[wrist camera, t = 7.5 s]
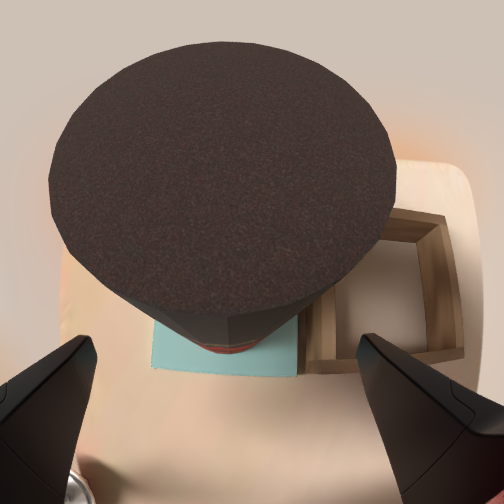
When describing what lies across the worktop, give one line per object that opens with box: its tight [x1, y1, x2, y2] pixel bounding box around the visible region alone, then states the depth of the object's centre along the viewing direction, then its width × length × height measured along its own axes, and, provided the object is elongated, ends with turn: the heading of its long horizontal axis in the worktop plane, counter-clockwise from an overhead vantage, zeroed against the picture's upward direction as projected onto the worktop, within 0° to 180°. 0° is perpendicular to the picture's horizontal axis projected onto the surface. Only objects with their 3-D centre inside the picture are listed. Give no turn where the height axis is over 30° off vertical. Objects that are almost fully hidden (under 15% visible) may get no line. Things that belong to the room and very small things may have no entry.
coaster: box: [151, 314, 298, 377], centre depth 19 cm, size 9×9×1 cm
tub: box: [305, 208, 464, 374], centre depth 18 cm, size 11×11×4 cm
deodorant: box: [48, 42, 397, 355], centre depth 11 cm, size 6×6×15 cm
